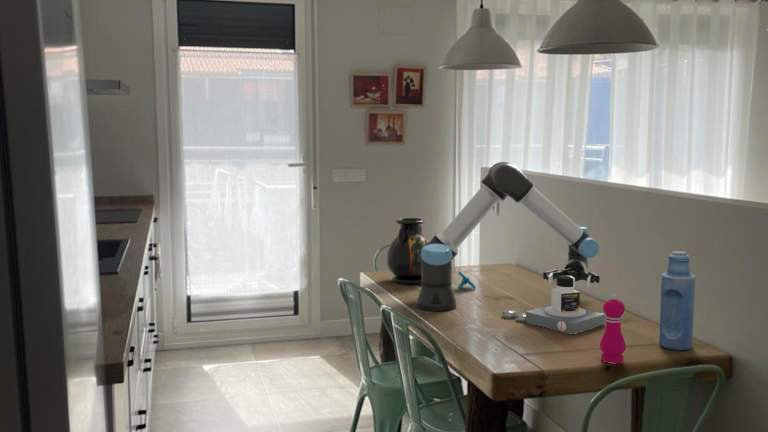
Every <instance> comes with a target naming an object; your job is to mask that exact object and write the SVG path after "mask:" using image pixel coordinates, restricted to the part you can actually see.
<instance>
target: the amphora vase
mask: <svg viewBox="0 0 768 432" xmlns="http://www.w3.org/2000/svg"><path fill="white" fill-rule="evenodd" d="M425 222H426V220H424V219H422V218H417V217H416V218H415V217H414V218H413V217H408V218H407V217H405V218H404V217H402V218H398V219H396V220H395V223H396V224H398V225H399V226H400V228H399V229H398V234H397V235H396V237H395V238H394V239H393V240H392V241H391V243H390V244H389V246H388V248H387V253H386V256H385V258H386V261H385V262H386V265H387V268H388V269H389V271H390V272H391V273H392V274H393V276H392V277H391V280H392V281H393V282H394V283H396V284H398V285H406V286H414V285H415V286H416V285H421V262H420V251H421V249H422V247H423V246H424V245H425V244H427V243H428V242H430V241H429V240H428V239H427V238H426V237H425V236H424V234H423V233H422V232H423V230H422V225H423V224H424V223H425Z"/></svg>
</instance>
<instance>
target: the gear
mask: <svg viewBox="0 0 768 432" xmlns="http://www.w3.org/2000/svg"><path fill="white" fill-rule="evenodd" d="M457 274H458V275H459V277H461V280H460V281H461V282H460V284H458V286H457V287H458V289H459V290H461V289H462V288H463V287H464V286H465V285H467V284H468V285H469V286H471V288H473V289H474V290H475V289H476V288H477V286H476V285H475V284H474V283H473V282H472V281H471V280H470V278H469V277H466V275H464V274H463V273H462V272H461V271H459V272H457Z"/></svg>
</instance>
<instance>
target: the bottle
mask: <svg viewBox="0 0 768 432" xmlns="http://www.w3.org/2000/svg"><path fill="white" fill-rule="evenodd" d="M690 259H691V257H690V255H689V254H687V252H686V251H682V250H681V251H680V250H675V251H674V250H673V251H672V252H671V253H670V254H668V265H667V272H666V271H665V272H663V273H662V274H661V282H660V283H661V284H660V287H661V288H660V312H659V314H660V315H659V317H660V319H659V339H658V340H659V341H658V343H659V345H660V347H661V348H664V349H667V350H669V351H670V350H671V351H678V350H679V351H682V352H683V350H685V351H688V350H691V349H692V348H693V332H694V331H693V328H694V316H695V315H694V311H695V294H696V275H694V274H693V273H691V270H690ZM679 351H678V352H679Z"/></svg>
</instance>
